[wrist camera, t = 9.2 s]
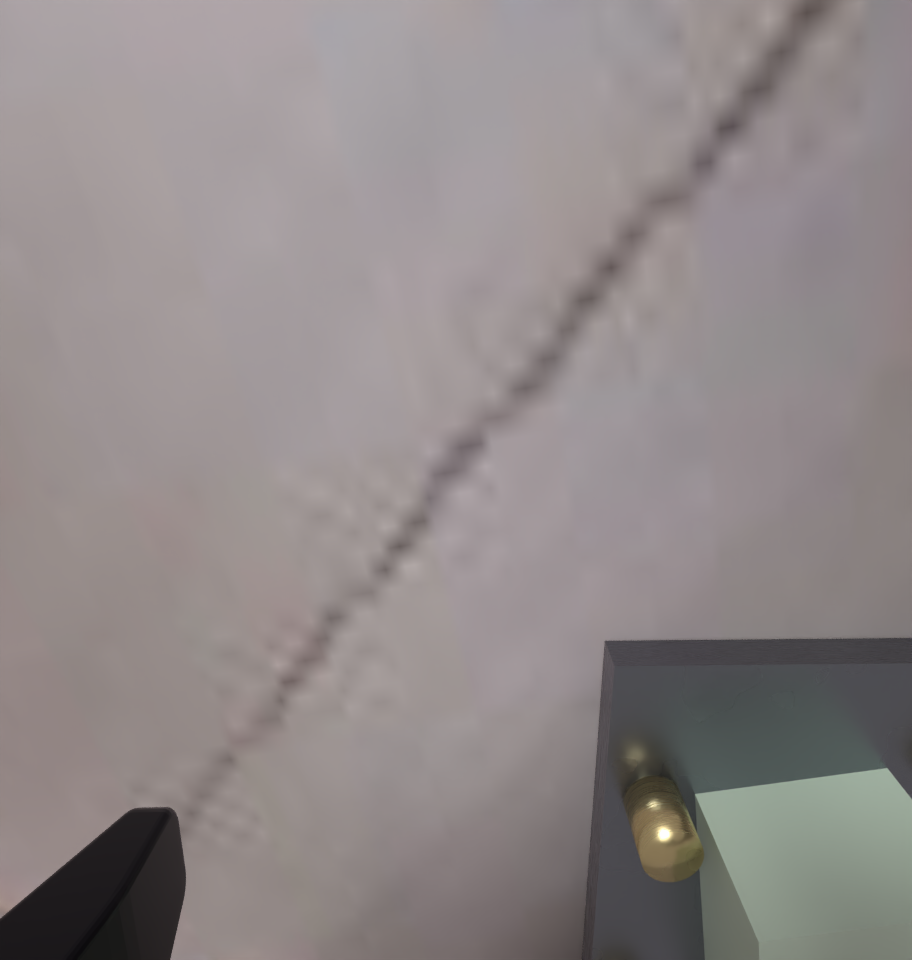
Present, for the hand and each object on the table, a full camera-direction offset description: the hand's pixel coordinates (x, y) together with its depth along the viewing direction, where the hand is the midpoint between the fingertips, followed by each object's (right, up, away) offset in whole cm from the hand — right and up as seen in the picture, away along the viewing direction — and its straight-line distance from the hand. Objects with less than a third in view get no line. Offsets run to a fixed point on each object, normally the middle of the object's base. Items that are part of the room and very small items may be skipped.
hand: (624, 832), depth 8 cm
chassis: (+8, -8, +16) cm, 19 cm away
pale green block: (+8, -8, +15) cm, 19 cm away
